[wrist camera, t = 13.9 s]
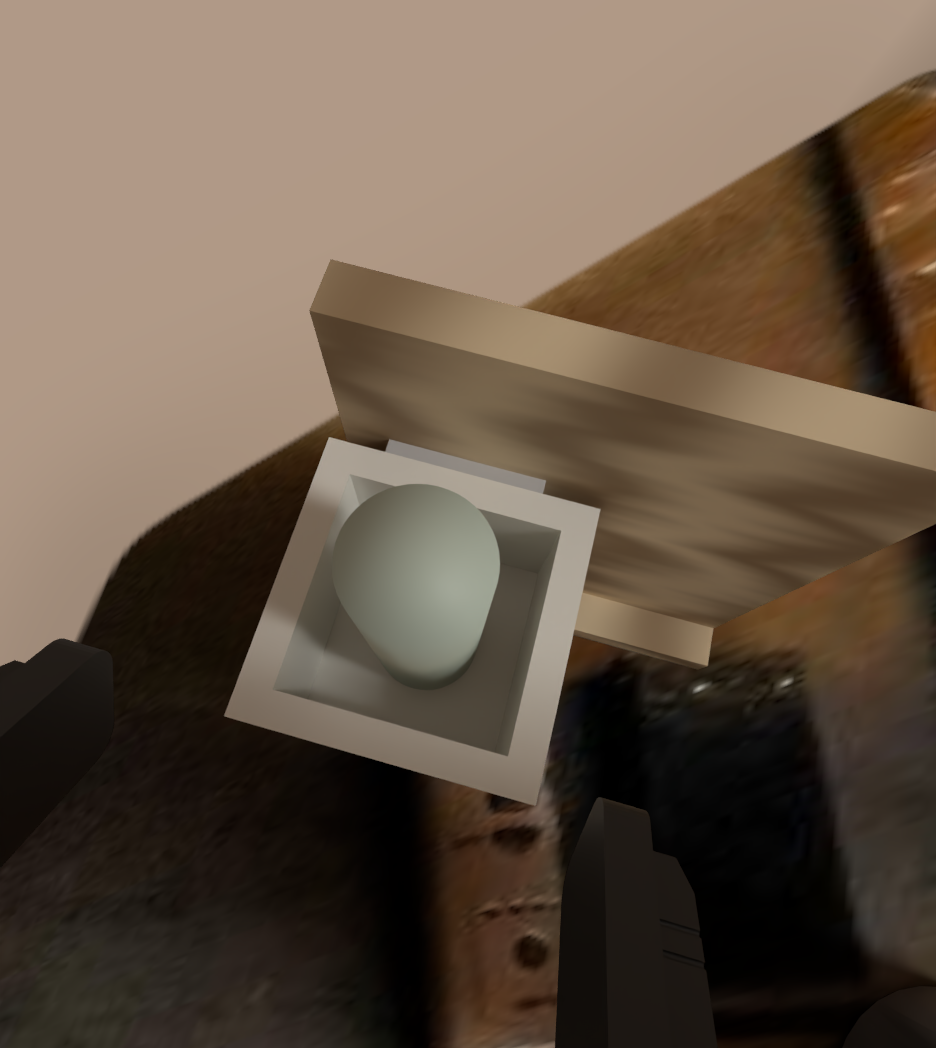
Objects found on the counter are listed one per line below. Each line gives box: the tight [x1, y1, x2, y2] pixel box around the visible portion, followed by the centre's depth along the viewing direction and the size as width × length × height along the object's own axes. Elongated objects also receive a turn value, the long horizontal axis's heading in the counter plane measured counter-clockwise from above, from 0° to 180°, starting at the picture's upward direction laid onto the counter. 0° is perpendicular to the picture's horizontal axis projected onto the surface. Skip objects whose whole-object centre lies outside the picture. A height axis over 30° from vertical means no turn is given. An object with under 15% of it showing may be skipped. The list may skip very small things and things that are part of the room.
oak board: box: [310, 260, 936, 669], centre depth 24 cm, size 16×4×18 cm, turn 75°
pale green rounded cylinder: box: [332, 484, 500, 690], centre depth 19 cm, size 4×4×10 cm
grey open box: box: [224, 437, 600, 806], centre depth 22 cm, size 9×9×6 cm
